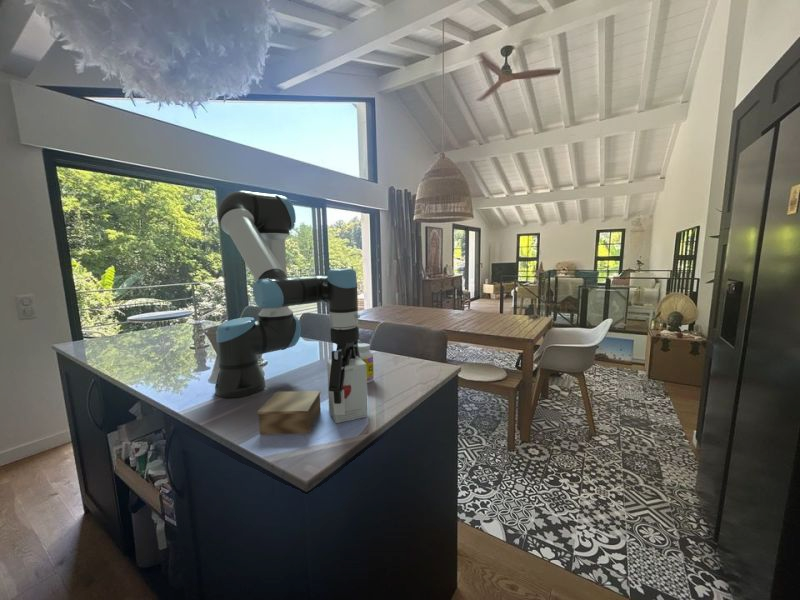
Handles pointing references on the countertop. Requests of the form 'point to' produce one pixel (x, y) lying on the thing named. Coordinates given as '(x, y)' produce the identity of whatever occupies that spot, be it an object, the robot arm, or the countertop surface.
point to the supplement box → (351, 391)
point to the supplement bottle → (367, 360)
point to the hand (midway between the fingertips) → (347, 403)
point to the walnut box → (290, 412)
